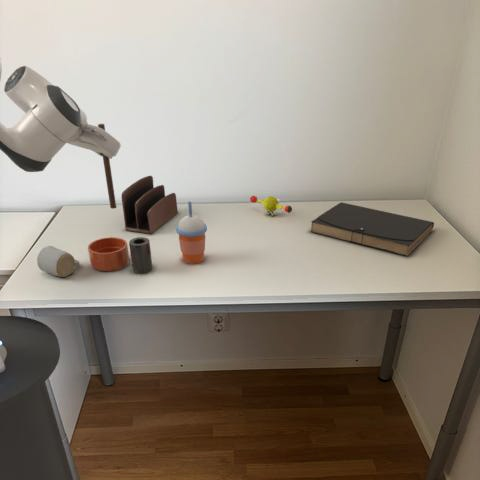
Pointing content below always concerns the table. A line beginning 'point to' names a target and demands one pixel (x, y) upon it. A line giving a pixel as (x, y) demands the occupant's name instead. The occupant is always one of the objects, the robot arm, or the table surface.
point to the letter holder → (147, 206)
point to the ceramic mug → (56, 261)
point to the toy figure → (271, 204)
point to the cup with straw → (192, 237)
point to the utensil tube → (141, 255)
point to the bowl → (108, 254)
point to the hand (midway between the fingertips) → (107, 155)
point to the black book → (372, 228)
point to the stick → (108, 177)
